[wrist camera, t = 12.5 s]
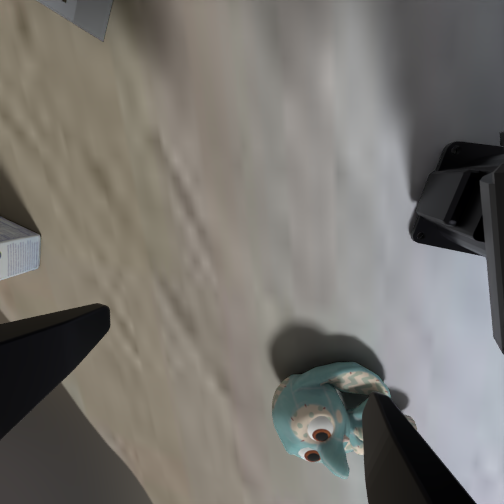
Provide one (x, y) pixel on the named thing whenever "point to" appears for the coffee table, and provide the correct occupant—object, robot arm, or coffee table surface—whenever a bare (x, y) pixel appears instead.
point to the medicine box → (17, 249)
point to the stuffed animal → (324, 413)
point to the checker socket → (83, 14)
